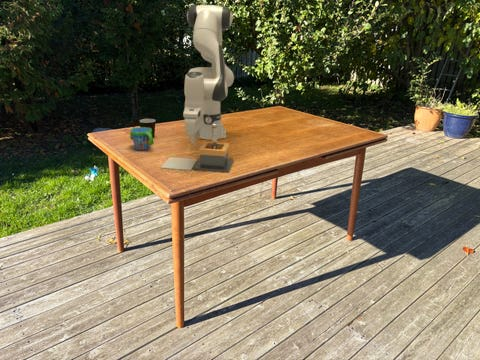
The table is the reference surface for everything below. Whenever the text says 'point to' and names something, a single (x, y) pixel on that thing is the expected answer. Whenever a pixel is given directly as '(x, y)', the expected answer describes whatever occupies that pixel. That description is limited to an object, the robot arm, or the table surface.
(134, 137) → the snack cup
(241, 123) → the table surface
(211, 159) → the stand
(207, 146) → the orange handled frame
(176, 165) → the mat
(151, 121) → the coffee mug
